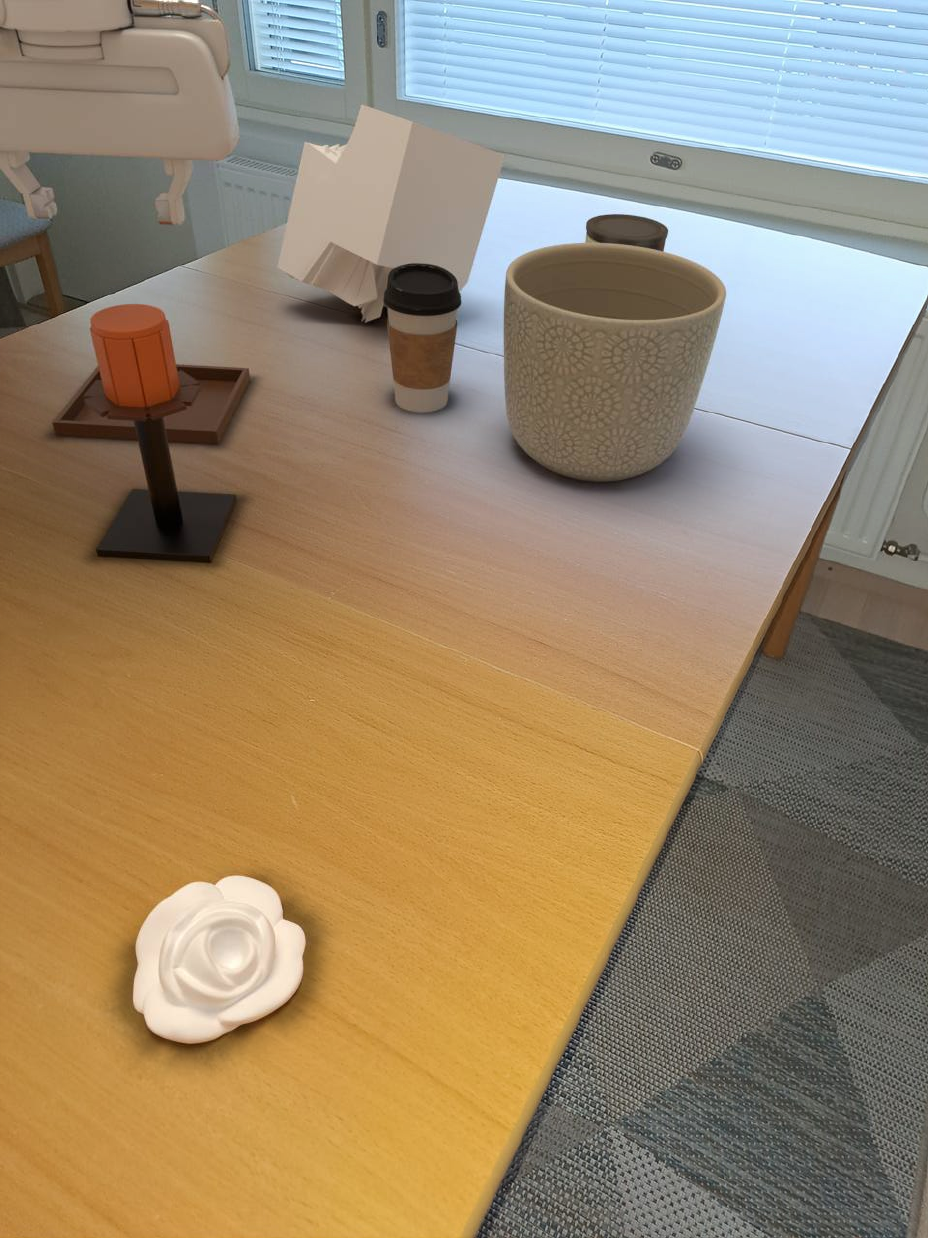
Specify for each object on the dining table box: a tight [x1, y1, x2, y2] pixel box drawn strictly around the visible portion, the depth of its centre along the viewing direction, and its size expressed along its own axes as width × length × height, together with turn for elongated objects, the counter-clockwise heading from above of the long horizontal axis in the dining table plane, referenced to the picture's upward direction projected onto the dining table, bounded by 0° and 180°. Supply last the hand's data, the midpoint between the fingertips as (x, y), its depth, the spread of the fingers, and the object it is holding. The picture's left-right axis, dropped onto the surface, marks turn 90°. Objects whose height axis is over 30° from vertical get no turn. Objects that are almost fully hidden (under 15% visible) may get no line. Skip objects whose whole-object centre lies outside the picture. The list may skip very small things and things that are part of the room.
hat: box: [84, 303, 201, 421], centre depth 73 cm, size 9×9×7 cm
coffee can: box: [584, 213, 669, 252], centre depth 119 cm, size 10×10×14 cm
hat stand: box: [95, 417, 238, 564], centre depth 78 cm, size 10×10×20 cm
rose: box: [132, 875, 307, 1044], centre depth 51 cm, size 10×4×10 cm
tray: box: [51, 363, 251, 446], centre depth 101 cm, size 17×15×2 cm
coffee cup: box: [383, 263, 463, 414], centre depth 101 cm, size 8×8×15 cm
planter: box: [503, 242, 727, 483], centre depth 93 cm, size 21×21×19 cm
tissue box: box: [276, 104, 506, 323], centre depth 119 cm, size 20×16×25 cm
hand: (108, 219), depth 67 cm, fingers open, 8 cm apart
